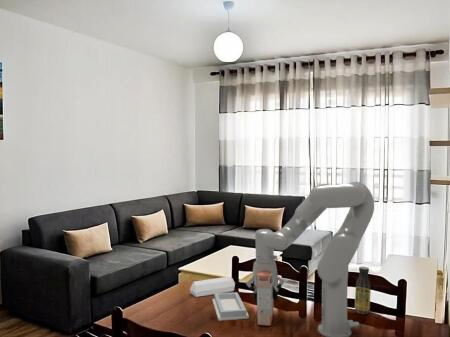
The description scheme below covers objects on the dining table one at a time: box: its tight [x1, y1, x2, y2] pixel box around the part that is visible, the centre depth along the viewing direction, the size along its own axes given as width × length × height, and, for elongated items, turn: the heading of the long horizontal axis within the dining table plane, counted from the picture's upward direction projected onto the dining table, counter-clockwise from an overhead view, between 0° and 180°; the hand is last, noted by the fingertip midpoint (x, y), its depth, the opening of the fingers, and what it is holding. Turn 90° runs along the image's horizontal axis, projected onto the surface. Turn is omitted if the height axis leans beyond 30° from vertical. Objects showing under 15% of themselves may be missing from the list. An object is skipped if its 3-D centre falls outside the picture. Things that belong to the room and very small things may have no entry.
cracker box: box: [256, 272, 274, 327], centre depth 168 cm, size 14×6×21 cm, turn 169°
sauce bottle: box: [354, 266, 372, 315], centre depth 175 cm, size 7×6×20 cm
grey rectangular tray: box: [212, 291, 250, 322], centre depth 180 cm, size 13×22×4 cm, turn 8°
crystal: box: [189, 276, 236, 298], centre depth 201 cm, size 7×7×24 cm
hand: (265, 300), depth 168 cm, fingers closed on cracker box, 7 cm apart
